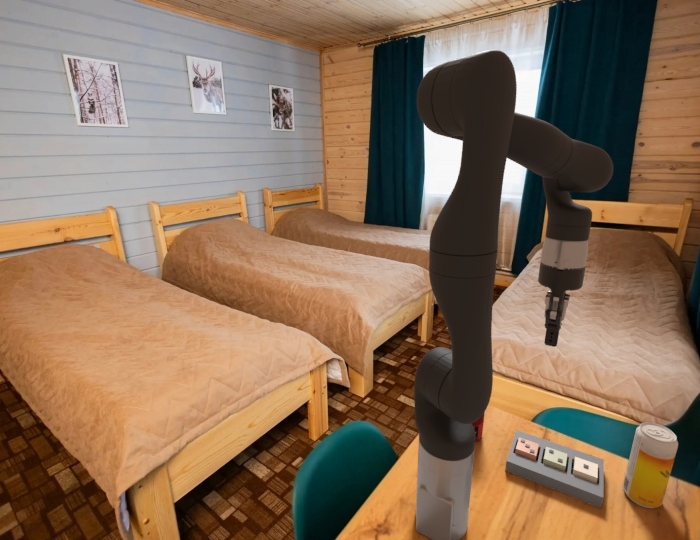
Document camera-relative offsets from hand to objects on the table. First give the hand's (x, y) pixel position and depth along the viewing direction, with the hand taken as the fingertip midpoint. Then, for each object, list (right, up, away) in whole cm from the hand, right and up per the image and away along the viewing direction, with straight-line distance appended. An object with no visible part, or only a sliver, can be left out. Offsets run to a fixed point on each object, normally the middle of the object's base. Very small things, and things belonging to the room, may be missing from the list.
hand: (550, 344), depth 76 cm
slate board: (+2, -27, +3) cm, 27 cm away
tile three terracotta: (-2, -26, +6) cm, 26 cm away
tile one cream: (+7, -27, 0) cm, 28 cm away
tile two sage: (+2, -26, +3) cm, 27 cm away
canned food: (-13, -24, +15) cm, 31 cm away
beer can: (+16, -29, -3) cm, 33 cm away
